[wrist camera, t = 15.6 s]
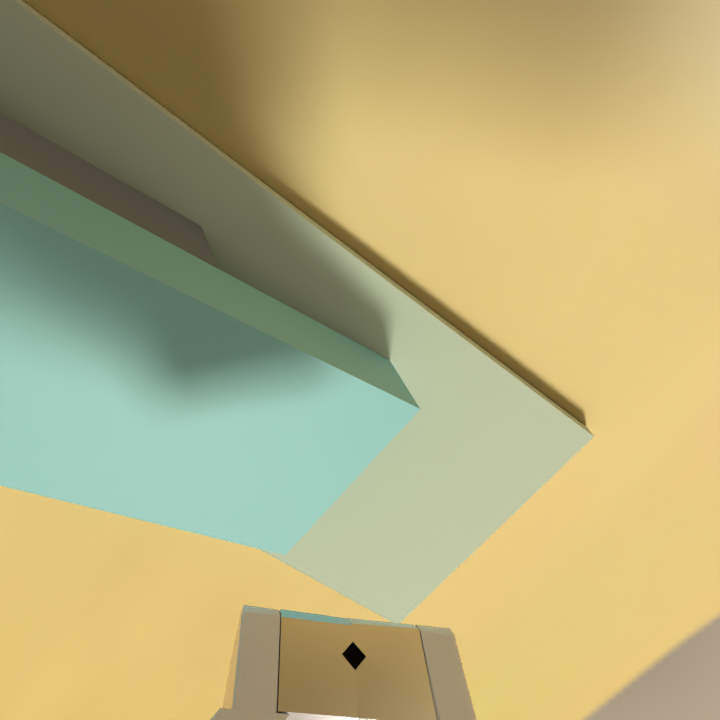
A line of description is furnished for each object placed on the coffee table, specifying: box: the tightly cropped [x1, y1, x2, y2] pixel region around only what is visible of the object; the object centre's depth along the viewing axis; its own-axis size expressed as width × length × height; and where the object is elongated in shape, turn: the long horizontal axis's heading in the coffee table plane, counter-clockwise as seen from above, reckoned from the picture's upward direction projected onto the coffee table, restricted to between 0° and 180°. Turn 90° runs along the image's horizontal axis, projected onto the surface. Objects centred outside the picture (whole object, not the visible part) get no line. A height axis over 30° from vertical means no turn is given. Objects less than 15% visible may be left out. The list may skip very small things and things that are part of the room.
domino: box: [0, 152, 420, 555], centre depth 12 cm, size 2×4×8 cm
